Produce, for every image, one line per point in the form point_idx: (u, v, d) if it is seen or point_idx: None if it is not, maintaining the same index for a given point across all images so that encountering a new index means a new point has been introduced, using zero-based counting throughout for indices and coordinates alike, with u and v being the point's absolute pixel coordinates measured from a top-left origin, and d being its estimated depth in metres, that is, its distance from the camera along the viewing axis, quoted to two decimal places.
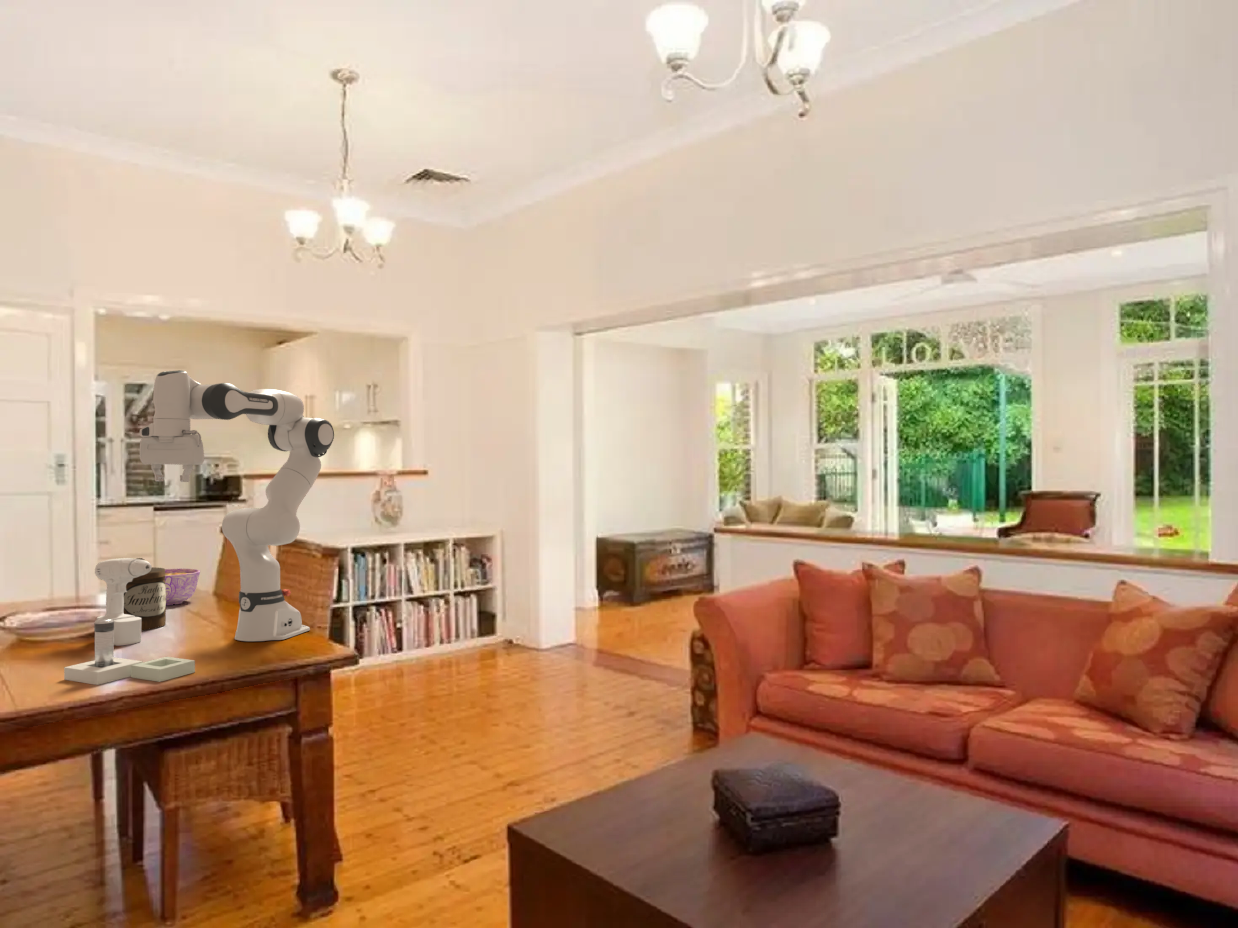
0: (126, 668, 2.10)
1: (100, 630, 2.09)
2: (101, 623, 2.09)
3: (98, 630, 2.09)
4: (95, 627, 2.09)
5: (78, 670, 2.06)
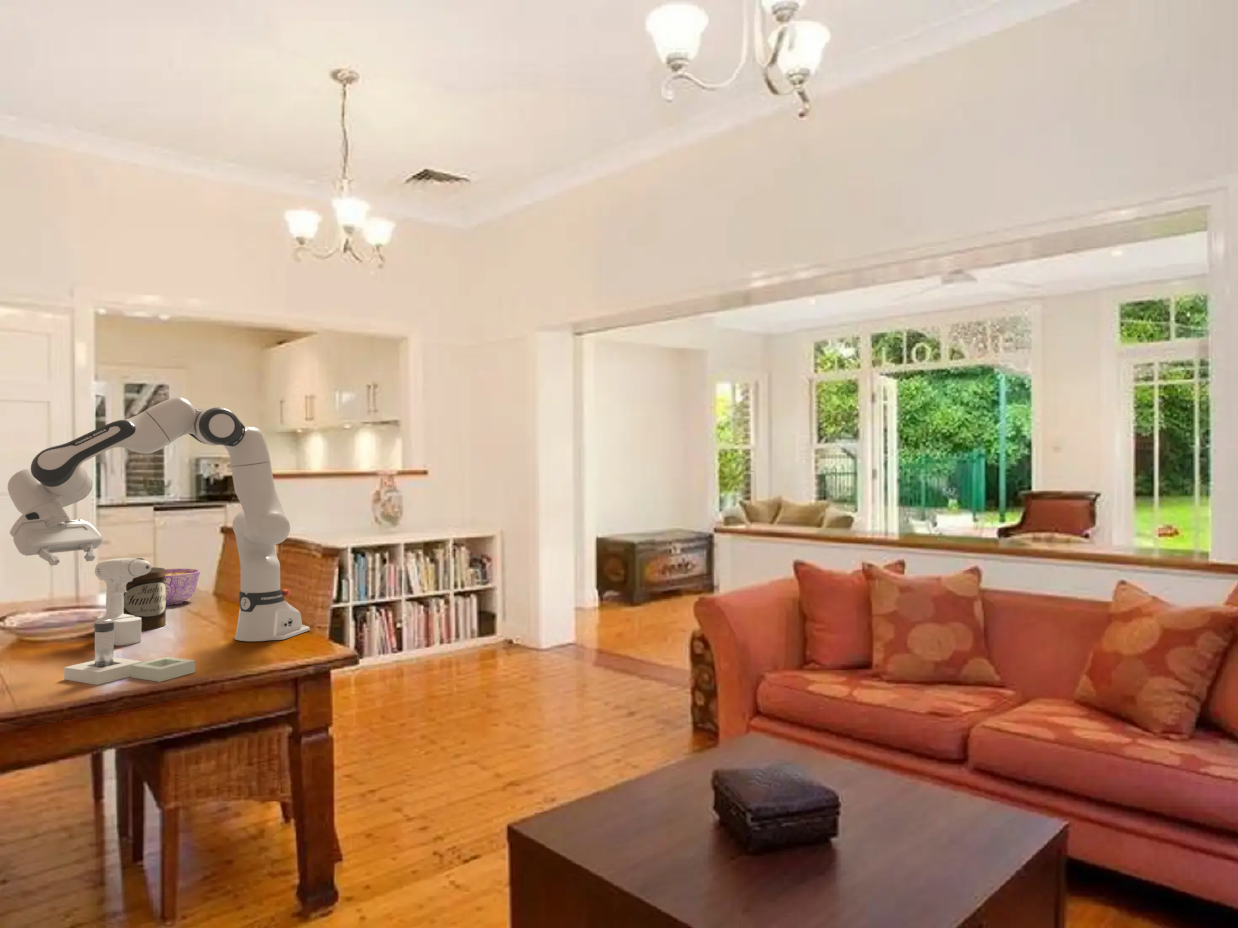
0: (126, 668, 2.10)
1: (100, 630, 2.09)
2: (101, 623, 2.09)
3: (98, 630, 2.09)
4: (95, 627, 2.09)
5: (78, 670, 2.06)
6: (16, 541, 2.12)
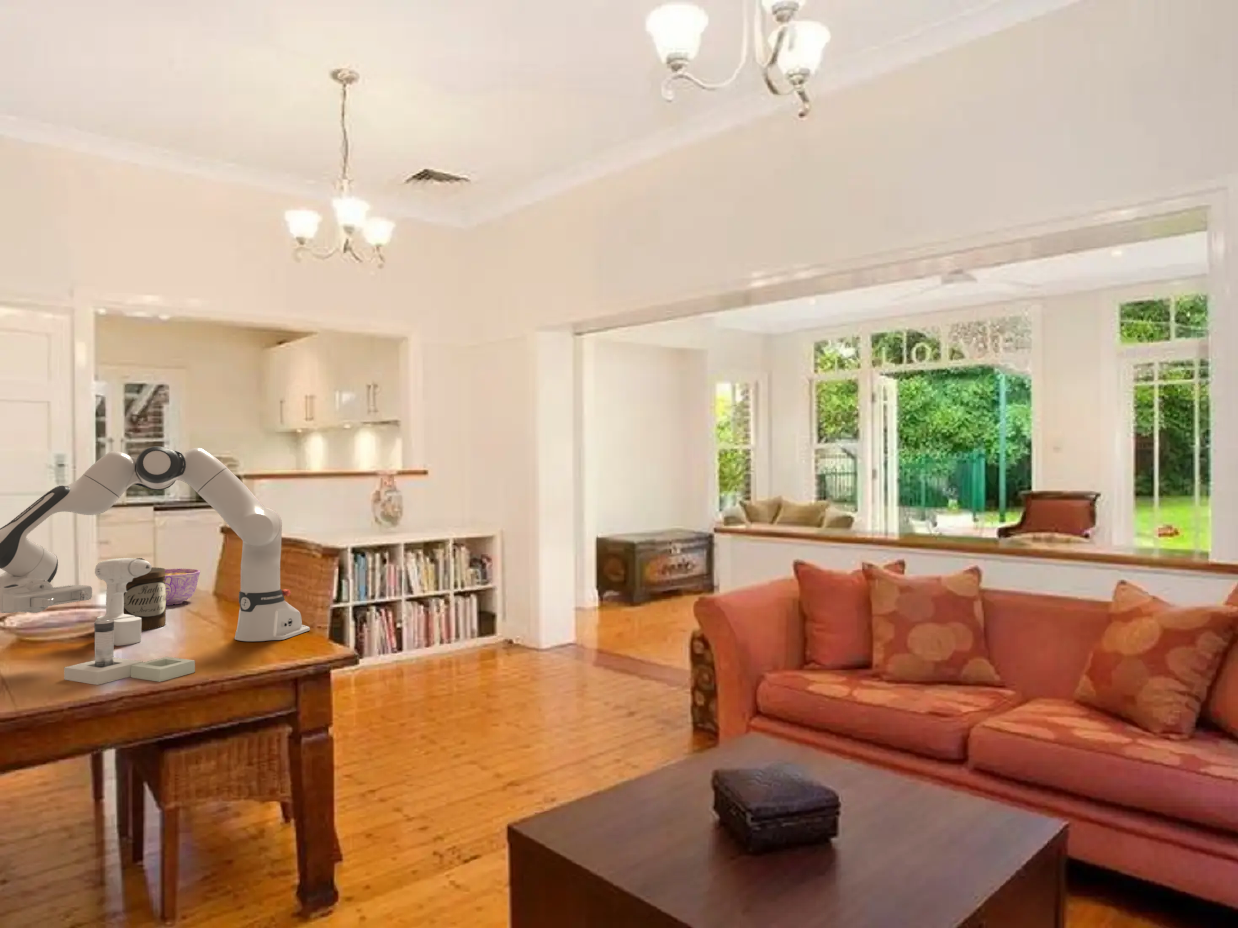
0: (126, 668, 2.10)
1: (100, 630, 2.09)
2: (101, 623, 2.09)
3: (98, 630, 2.09)
4: (95, 627, 2.09)
5: (78, 670, 2.06)
6: (5, 606, 2.10)
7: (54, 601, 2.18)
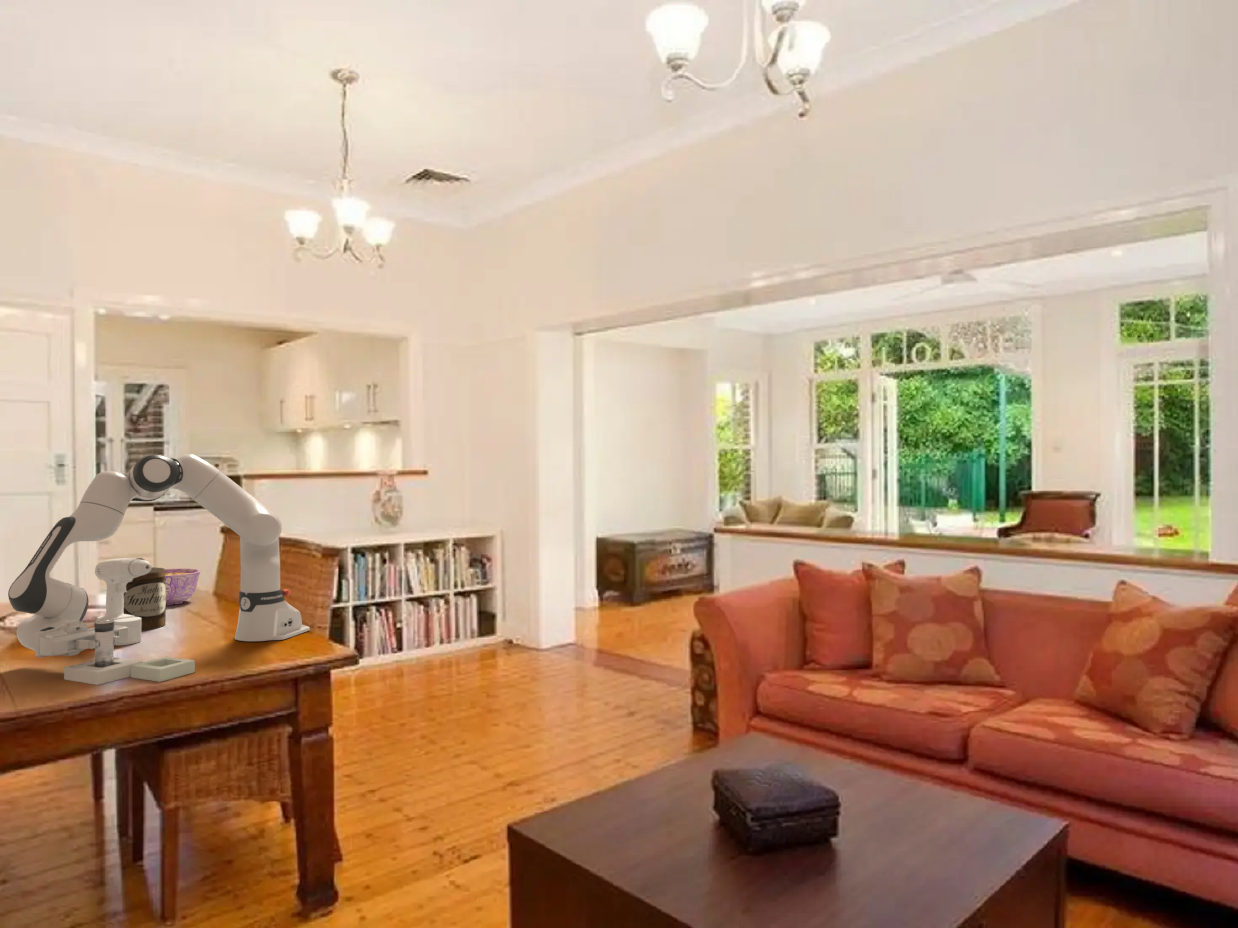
0: (126, 668, 2.10)
1: (100, 630, 2.09)
2: (101, 623, 2.09)
3: (98, 630, 2.09)
4: (95, 627, 2.09)
5: (78, 670, 2.06)
6: (43, 651, 2.05)
7: None
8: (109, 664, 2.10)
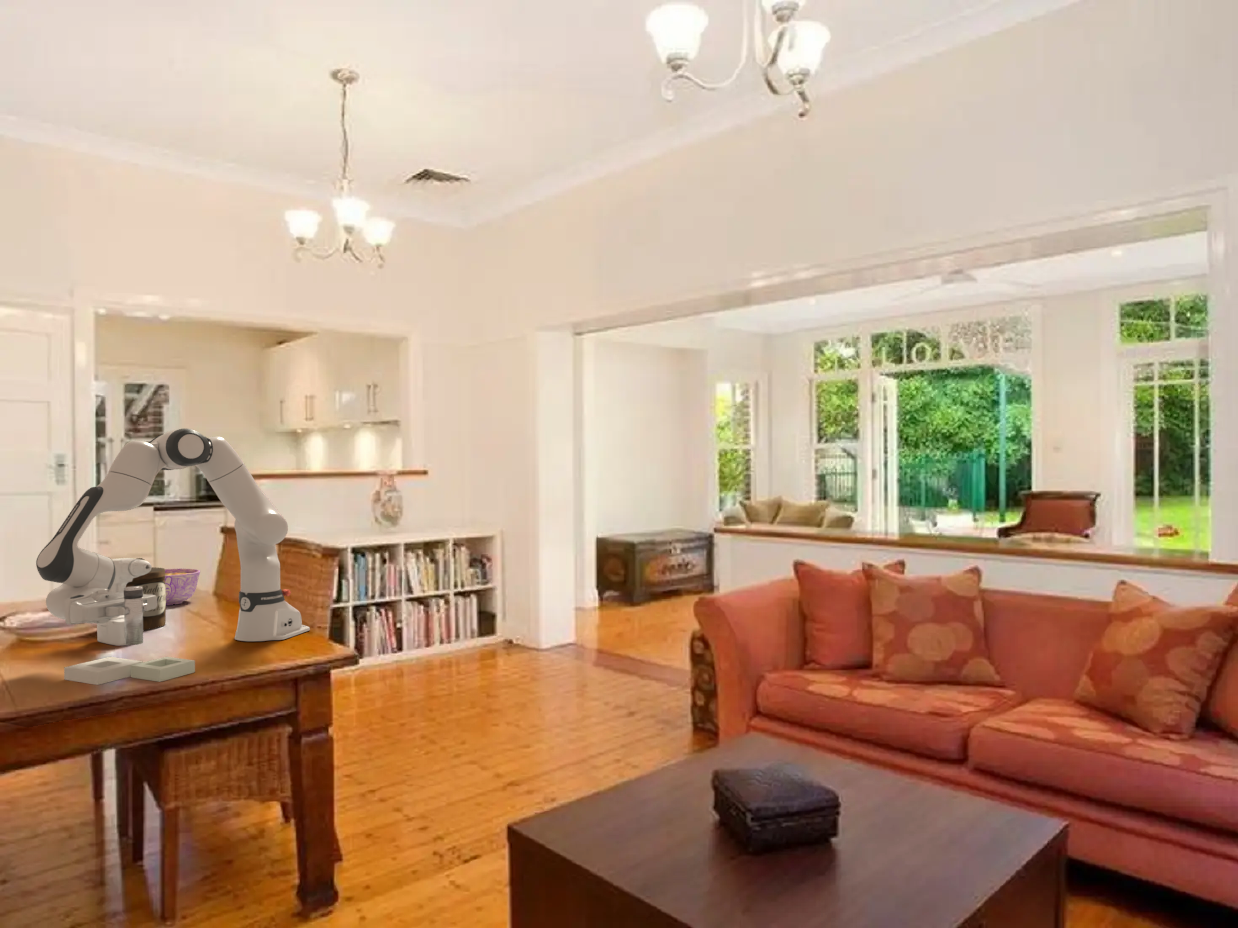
0: (126, 668, 2.10)
1: (129, 597, 2.09)
2: (130, 590, 2.09)
3: (127, 597, 2.09)
4: (124, 594, 2.10)
5: (78, 670, 2.06)
6: (73, 618, 2.06)
7: None
8: (139, 631, 2.11)
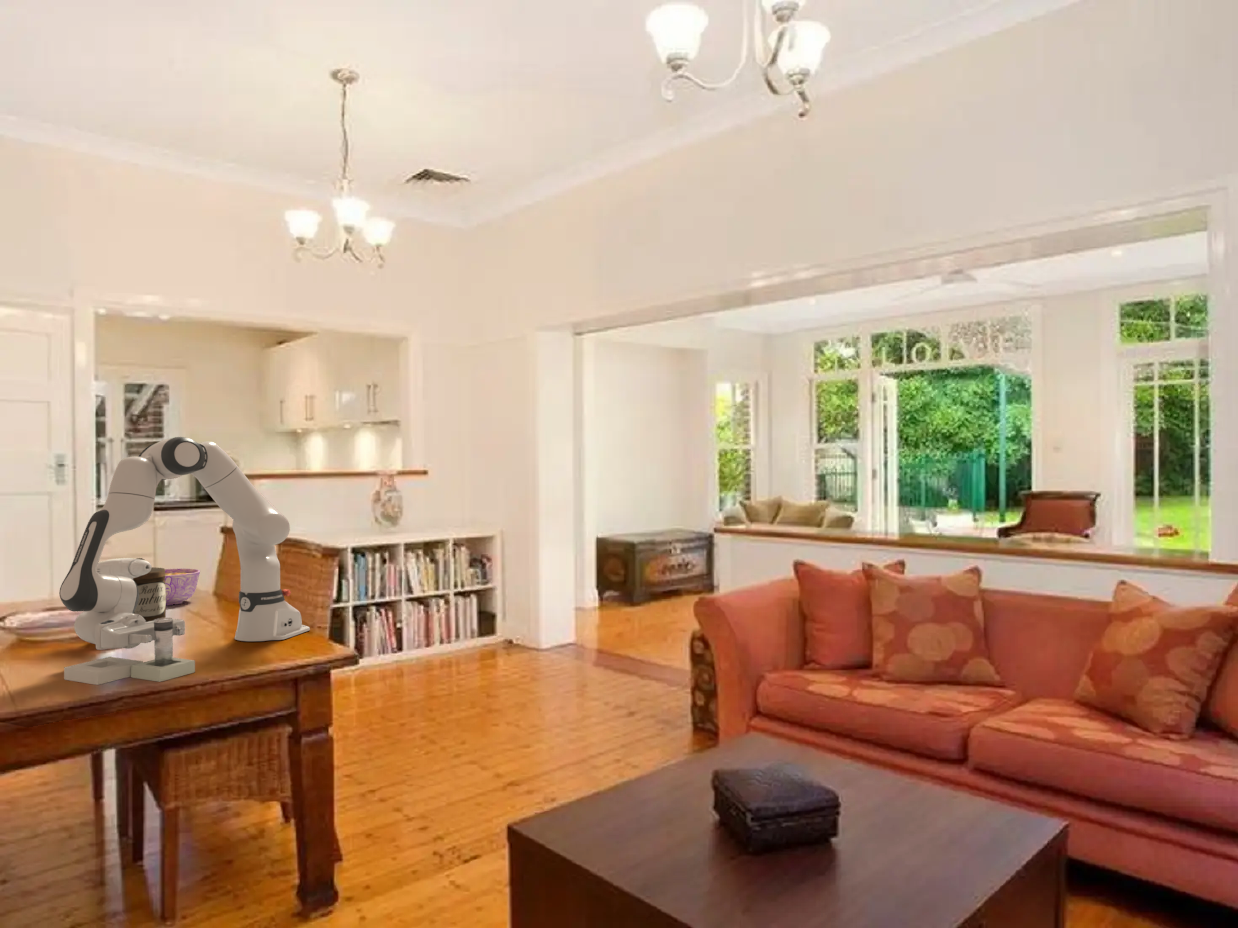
0: (126, 668, 2.10)
1: (160, 629, 2.11)
2: (161, 622, 2.11)
3: (158, 629, 2.11)
4: (155, 626, 2.11)
5: (78, 670, 2.06)
6: (104, 643, 2.07)
7: None
8: (169, 663, 2.12)
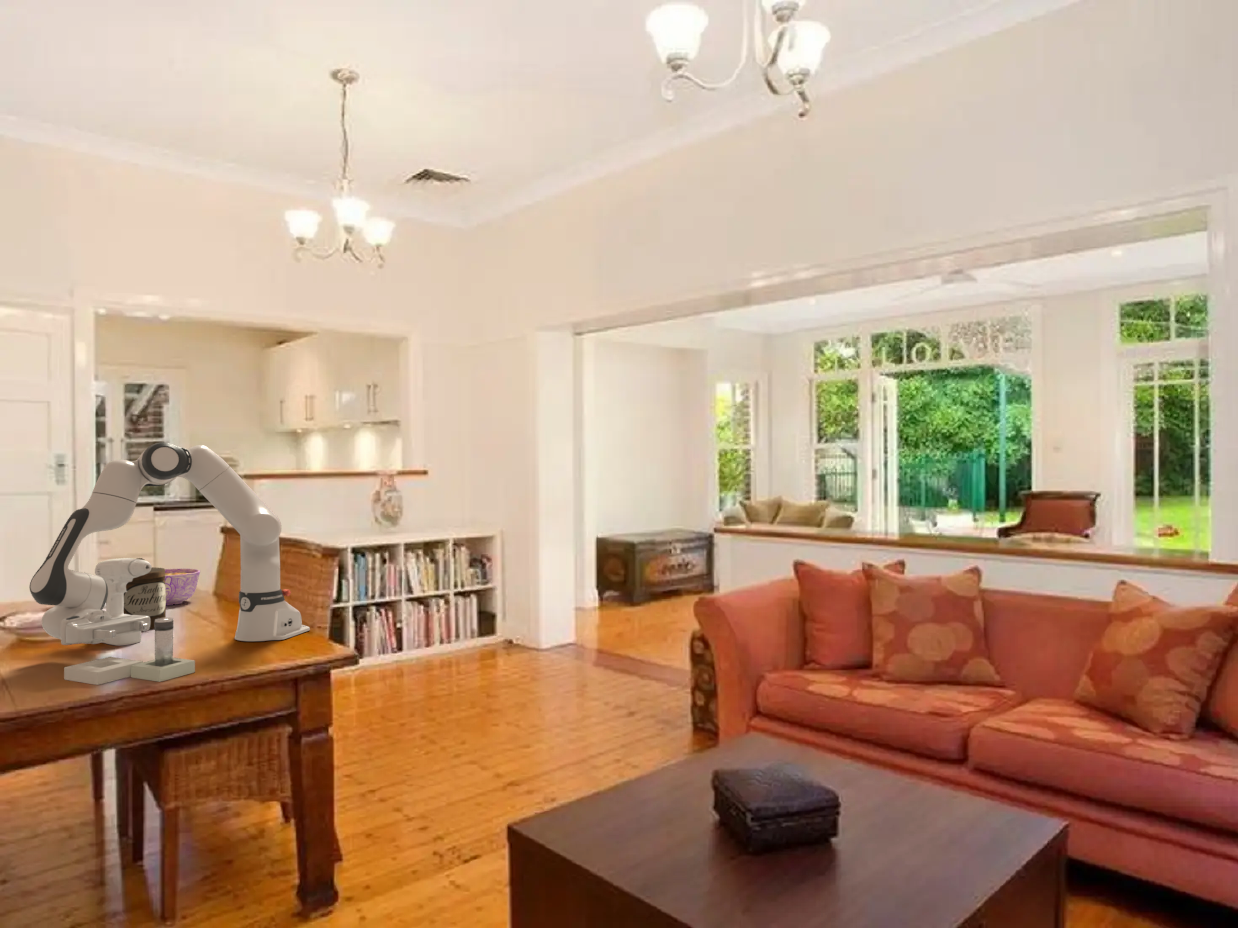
0: (126, 668, 2.10)
1: (160, 629, 2.11)
2: (161, 622, 2.11)
3: (158, 629, 2.11)
4: (155, 626, 2.11)
5: (78, 670, 2.06)
6: (68, 639, 2.12)
7: (115, 632, 2.19)
8: (169, 662, 2.12)
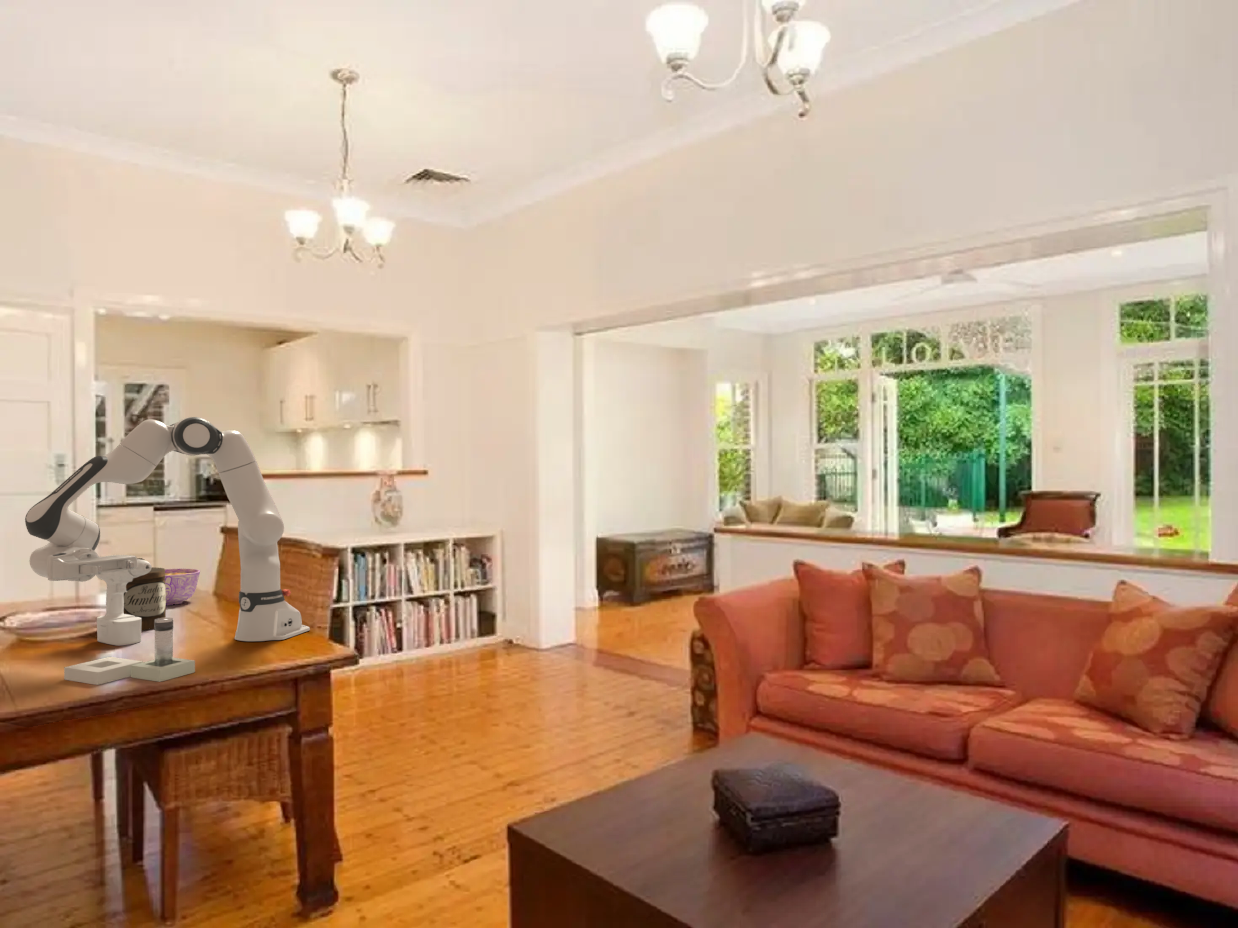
0: (126, 668, 2.10)
1: (160, 629, 2.11)
2: (161, 622, 2.11)
3: (158, 629, 2.11)
4: (155, 626, 2.11)
5: (78, 670, 2.06)
6: (55, 574, 2.14)
7: (101, 569, 2.21)
8: (169, 663, 2.12)
